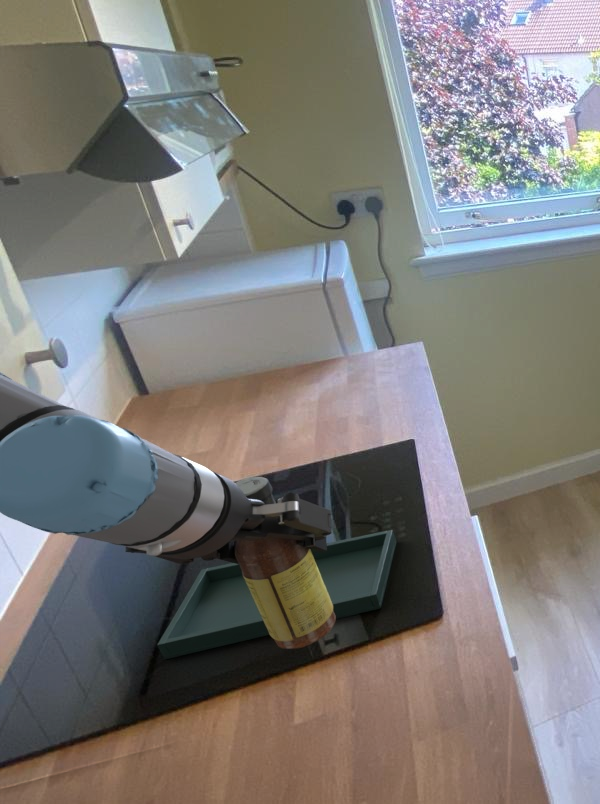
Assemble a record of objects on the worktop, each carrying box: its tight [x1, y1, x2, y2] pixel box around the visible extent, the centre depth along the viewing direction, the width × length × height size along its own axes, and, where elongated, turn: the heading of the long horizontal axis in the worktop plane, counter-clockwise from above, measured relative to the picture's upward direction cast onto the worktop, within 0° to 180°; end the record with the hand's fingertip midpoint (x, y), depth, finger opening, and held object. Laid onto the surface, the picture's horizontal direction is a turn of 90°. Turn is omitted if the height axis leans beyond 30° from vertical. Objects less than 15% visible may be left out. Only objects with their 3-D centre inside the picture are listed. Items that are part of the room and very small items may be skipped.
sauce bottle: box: [234, 476, 337, 650], centre depth 79 cm, size 7×6×20 cm
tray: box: [157, 529, 397, 660], centre depth 106 cm, size 26×16×3 cm, turn 109°
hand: (288, 546), depth 82 cm, fingers closed on sauce bottle, 6 cm apart
